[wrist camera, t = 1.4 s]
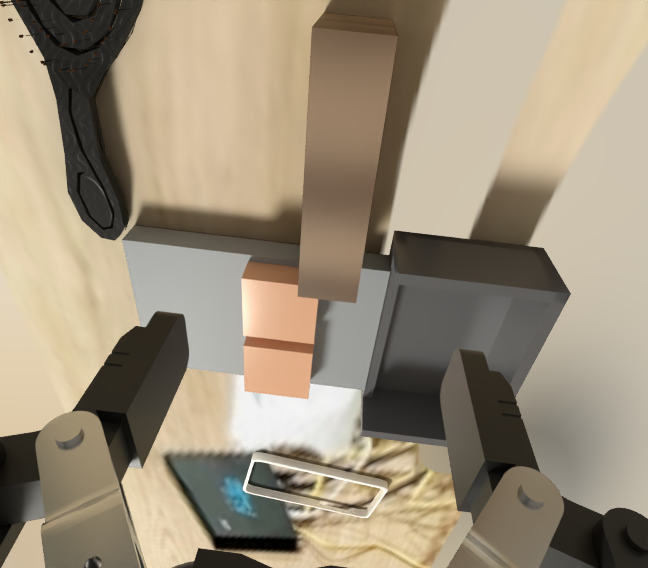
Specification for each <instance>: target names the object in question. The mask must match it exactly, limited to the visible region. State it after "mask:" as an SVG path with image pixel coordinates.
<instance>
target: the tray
mask: <svg viewBox="0 0 648 568" xmlns="http://www.w3.org/2000/svg"><path fill="white" fill-rule="evenodd" d="M389 259H390V276H389V280H388V285H387V289H386V294H385V299H384V303H383V308H382V312H381V317H380V322H379V326H378V331H377V335H376V340H375V345H374V349H373V354H372V358H371V363H370V368H369V372H368V377H367V382H366V386H365V390H362V395H361V436H364V437H372V438H380V439H389V440H397V441H405V442H413V443H421V444H429V445H437V446H445V447H447V441H446V435H445V428H444V422H443V416H442V410H441V403H440V392H441V385H442V382H443V379H444V376H445V374H446V371H447V368H448V366H449V363H450V360H451V357H452V355H453V352H454V350H455V349H466V350H474V351H482V352H483V353H484V355H485V357H486V361H487V364H488V368H489V371H497V372H500V373H501V374H502V375H503V377H504V378H505V379H506V380H507V382H508V383H509V384H510V385H511V387H512V390H513V393H514V396H515V397H516V395H517V393H518V391H519V389H520V387H521V386H522V384H523V382H524V380H525V378H526V376H527V374H528V372H529V371H530V369H531V367H532V365H533V363H534V361H535V359H536V358H537V356H538V354H539V352H540V350H541V348H542V346H543V345H544V343H545V341H546V339H547V337H548V335H549V333H550V332H551V330H552V328H553V326H554V324H555V322H556V320H557V318H558V317H559V315H560V313H561V311H562V309H563V307H564V306H565V304H566V302H567V300H568V298H569V296H570V294H571V293H570V292H569V290H568V288H567V287H566V285H565V283H564V282H563V280H562V278H561V277H560V275H559V274H558V272H557V270H556V268H555V267H554V265H553V263H552V262H551V260H550V258H549V257H548V255H547V253H546V252H545V250H544V248H538V247H530V246H522V245H513V244H505V243H496V242H488V241H479V240H471V239H462V238H454V237H444V236H437V235H428V234H420V233H410V232H403V231H394V235H393V240H392V245H391V249H390V254H389Z"/></svg>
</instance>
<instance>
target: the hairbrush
mask: <svg viewBox="0 0 648 568" xmlns="http://www.w3.org/2000/svg"><path fill="white" fill-rule="evenodd" d="M142 1H143V0H122V2H121V0H101V1H100V0H11V1H9V2H12V3H13V4H11V5H14V6H15V8H16V10H17V12H18V13H19V15H20V17H21V19H22V20H23V22H24V24H25V25H26V27H27V29H28V31H29V32H30V34H31V36H32V38H33V39H34V41H35V43H36V45H37V46H38V48H39V50H40V51H41V53H42V55H43V57H44V59H45V61H40V62H41V63H42V64H43V65H46V66H47V69H48V73H49V76H50V79H51V83H52V86H53V90H54V93H55V96H56V100H57V107H58V114H59V120H60V127H61V133H62V140H63V147H64V153H65V164H66V176H67V188H68V193H69V195H70V197H71V199H72V201H73V203H74V205H75V207H76V209H77V211H78V213H79V215H80V217H81V219H82V221H83V222H84V223H86V224H87V225H88V226H89V227H90V228H91V229H92V230H93V231H94V232H96V233H97V234H98V235H99V236H100V237H101V238H105V239H110V240H116V239H117V238H118V237H119V236H120V235H121V233H122V231H123V229H124V228H125V225H126V227H127V224H128V221H129V218H128V214H127V209H126V205H125V200H124V195H123V193H122V190H121V188H120V186H119V184H118V181H117V179H116V177H115V174H114V172H113V170H112V168H111V165H110V163H109V161H108V158H107V156H106V153H105V148H104V143H103V137H102V132H101V127H100V122H99V117H98V112H97V107H96V102H95V98H96V96H97V94H98V92H99V89H100V87H101V85H102V83H103V80H104V78H105V76H106V74H107V71H108V69H109V67H110V65H111V64H112V63H113V62H114V60H115V59H116V58H117V57H118V55H119V53H120V51H121V49H122V48H123V46H124V45H125V44H126V43H125V41H126V39H127V37H128V35H129V33H130V31H131V29H132V27H133V25H134V26H135V24H134V23H136V22H135V21H136V19H137V17H138V15H139V13H140V11H141V7H142ZM9 2H3V1H0V4H2V5H1V6H2V7H4V6H7V5H6V4H4V3H9ZM99 2H100V3H99ZM120 3H121V6H120ZM96 6H98V8H97V11H96V13H95V16H92V17H89V18H86V19H83V20H82V19H78V18H75V17H73V16H70V15H79V16H87V15H88V14H90V12H91V11H92V10H93V9H94V8H95V7H96ZM119 7H120V9H119ZM95 9H96V8H95ZM118 11H119V12H118ZM93 12H94V11H93ZM91 13H92V12H91ZM67 14H69V15H67ZM117 15H118V16H117ZM116 17H117V19H116ZM115 19H116V23H115V26H114V27H113V28H114V29H113V30H112V32H111V33H110V34H109V35H108V33H109V31H110V30H111V29H112V25H113V23H114V21H115ZM8 20H9V21H13V20H12V19H8ZM16 20H17V19H16ZM133 29H134V27H133ZM132 32H133V30H132ZM131 34H132V33H131ZM105 35H106V36H107V35H108V37H106V36H105ZM26 36H30V35H26ZM104 36H105V37H104ZM19 37H20V38H23V35H19ZM129 38H130V37H129ZM129 38H128V39H129ZM103 39H105V40H104V41H103ZM101 40H102V41H101ZM99 41H101V43H102V44H101V45H100V46H99V47H95V48H92V49H89V50H86V51H83V52H80V51H78V50H77V49H83V50H85V49H87V48H89V47H90V46H92V45H94V44H96V43H97V42H99ZM127 41H128V40H127ZM127 41H126V42H127ZM75 48H77V49H75ZM30 53H33V50H31V51H30ZM44 62H45V63H44ZM83 172H84V173H83ZM113 223H114V224H113ZM125 230H126V229H125Z"/></svg>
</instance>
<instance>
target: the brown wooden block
mask: <svg viewBox="0 0 648 568" xmlns="http://www.w3.org/2000/svg"><path fill="white" fill-rule="evenodd" d="M397 40H398V35H397V32H396V29H395V26H394V23H393V20H392V19H382V18H372V17H362V16H352V15H342V14H332V13H323V14H322V16H321V17H320V18H319V19H318V21H317V22H316V23H315V24H314V26H313V27H312V38H311V56H310V75H309V93H308V112H307V130H306V149H305V167H304V186H303V205H302V223H301V242H300V260H299V279H298V297H304V298H313V299H322V300H331V301H340V302H348V303H356V301H357V294H358V288H359V281H360V275H361V269H362V262H363V256H364V250H365V243H366V237H367V231H368V224H369V218H370V212H371V205H372V199H373V193H374V186H375V180H376V173H377V167H378V161H379V154H380V148H381V142H382V135H383V129H384V123H385V116H386V110H387V104H388V97H389V91H390V85H391V78H392V72H393V65H394V59H395V53H396V46H397Z"/></svg>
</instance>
